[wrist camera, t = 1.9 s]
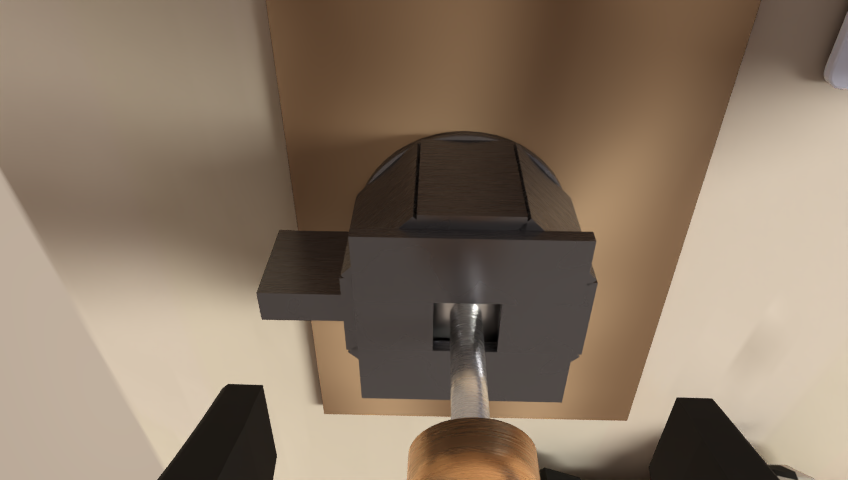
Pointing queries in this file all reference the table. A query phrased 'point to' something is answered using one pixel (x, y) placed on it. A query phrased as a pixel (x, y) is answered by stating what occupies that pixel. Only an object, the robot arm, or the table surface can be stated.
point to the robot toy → (786, 474)
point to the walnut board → (519, 142)
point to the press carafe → (447, 269)
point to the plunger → (470, 410)
